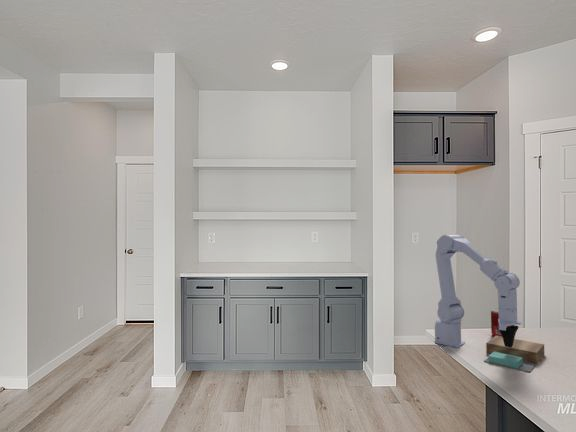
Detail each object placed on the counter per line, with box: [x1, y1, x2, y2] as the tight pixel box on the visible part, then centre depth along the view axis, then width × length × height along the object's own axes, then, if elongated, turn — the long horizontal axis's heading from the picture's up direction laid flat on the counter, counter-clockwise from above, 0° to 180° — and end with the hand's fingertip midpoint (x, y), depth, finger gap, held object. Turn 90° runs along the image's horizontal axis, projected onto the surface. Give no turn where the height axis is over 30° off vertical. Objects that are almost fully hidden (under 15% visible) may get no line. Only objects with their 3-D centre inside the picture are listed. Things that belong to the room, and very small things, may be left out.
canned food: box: [490, 308, 502, 338], centre depth 161 cm, size 8×8×11 cm
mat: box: [483, 357, 538, 374], centre depth 130 cm, size 14×9×1 cm, turn 45°
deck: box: [485, 336, 545, 365], centre depth 139 cm, size 16×12×4 cm
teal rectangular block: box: [487, 352, 523, 368], centre depth 130 cm, size 9×6×2 cm, turn 44°
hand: (508, 346), depth 133 cm, fingers closed
